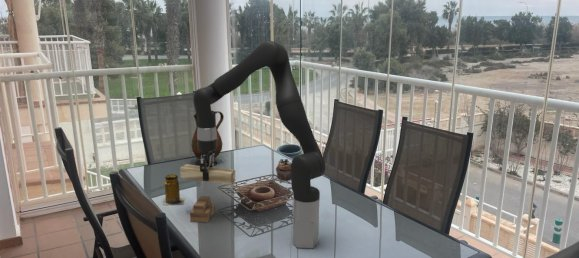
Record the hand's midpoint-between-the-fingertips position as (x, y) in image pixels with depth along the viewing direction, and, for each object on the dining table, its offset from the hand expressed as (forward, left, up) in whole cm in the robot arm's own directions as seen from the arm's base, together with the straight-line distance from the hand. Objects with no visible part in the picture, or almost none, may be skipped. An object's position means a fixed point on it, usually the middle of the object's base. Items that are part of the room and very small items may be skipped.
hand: (208, 178), depth 173 cm
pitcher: (+67, +19, -16) cm, 72 cm away
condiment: (+11, +19, -16) cm, 28 cm away
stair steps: (-3, +2, -16) cm, 16 cm away
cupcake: (+48, -26, -16) cm, 57 cm away
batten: (0, 0, -1) cm, 1 cm away
